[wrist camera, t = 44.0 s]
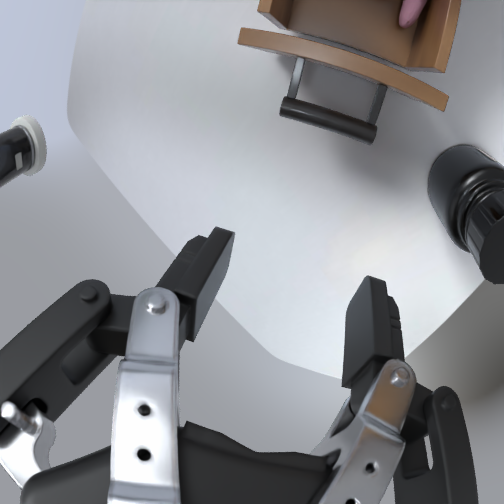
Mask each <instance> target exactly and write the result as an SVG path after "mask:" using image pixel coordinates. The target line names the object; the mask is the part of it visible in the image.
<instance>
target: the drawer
mask: <svg viewBox="0 0 504 504" xmlns="http://www.w3.org/2000/svg"><path fill="white" fill-rule="evenodd" d="M402 4H403V0H260V2H259V6H258V10H257V11H258V12H259V13H260V14H262V15H263V16H264V17H266V18H267V19H268V20H269V21H271V22H272V23H273V24H275V25H276V26H277V27H278V28H279V29H284V30H289V31H294V32H298V33H303V34H307V35H311V36H315V37H319V38H322V39H326V40H330V41H333V42H336V43H340V44H343V45H346V46H349V47H352V48H355V49H358V50H361V51H364V52H366V53H369V54H372V55H374V56H377V57H380V58H382V59H385V60H387V61H390V62H392V63H394V64H397V65H399V66H401V67H403V68H406V69H408V70H410V71H424V72H438V73H445V70H446V66H447V63H448V59H449V55H450V52H451V48H452V44H453V39H454V35H455V31H456V26H457V21H458V17H459V11H460V6H461V0H427V2H426V4H425V6H424V8H423V9H422V11H421V13H420V15H419V17H418V19H417V20H416V21H415V22H414V23H413V24H412V25H411V26H410V27H408V28H402V27H401V26H400V25H399V16H400V11H401V7H402ZM238 44H239V45H244V46H248V47H252V48H255V49H259V50H263V51H266V52H271V53H276V54H281V55H285V56H290V57H294V58H296V62H295V66H294V70H293V74H292V78H291V82H290V86H289V90H288V94H287V96H285V97H284V98H283V101H282V104H281V107H280V113H279V115H280V116H282V117H285V118H289V119H293V120H296V121H300V122H303V123H306V124H310V125H313V126H316V127H319V128H322V129H326V130H329V131H332V132H335V133H338V134H341V135H343V136H346V137H349V138H352V139H355V140H357V141H360V142H363V143H365V144H368V145H371V144H372V143H373V141H374V139H375V136H376V132H377V126H376V125H375V124H376V121H377V118H378V115H379V112H380V109H381V106H382V103H383V100H384V97H385V93H386V90H387V88H389V89H391V90H393V91H396V92H398V93H400V94H403V95H405V96H407V97H409V98H412V99H414V100H417V101H419V102H422V103H424V104H427V105H429V106H431V107H434V108H436V109H438V110H440V111H443V112H444V110H445V107H446V104H447V101H448V98H449V96H448V95H447V94H445V93H443V92H441V91H439V90H437V89H436V88H434V87H432V86H430V85H428V84H426V83H424V82H422V81H420V80H418V79H416V78H414V77H411V76H409V75H407V74H405V73H403V72H401V71H398V70H396V69H394V68H391V67H389V66H386V65H384V64H381V63H379V62H376V61H374V60H371V59H368V58H366V57H363V56H360V55H357V54H354V53H351V52H348V51H345V50H342V49H339V48H336V47H332V46H329V45H326V44H322V43H318V42H315V41H311V40H307V39H303V38H298V37H294V36H289V35H284V34H279V33H274V32H269V31H263V30H257V29H250V28H241V30H240V34H239V39H238ZM305 60H306V61H310V62H313V63H317V64H320V65H324V66H327V67H331V68H334V69H337V70H340V71H343V72H346V73H349V74H352V75H355V76H358V77H361V78H363V79H366V80H369V81H371V82H374V83H376V84H378V87H377V90H376V94H375V97H374V100H373V103H372V106H371V109H370V112H369V116H368V119H367V122H365V121H363V120H360V119H357V118H355V117H352V116H349V115H346V114H343V113H340V112H337V111H334V110H331V109H328V108H325V107H322V106H319V105H315V104H312V103H309V102H305V101H302V100H298V99H295V98H296V95H297V92H298V88H299V84H300V80H301V76H302V72H303V68H304V64H305Z"/></svg>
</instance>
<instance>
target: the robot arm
mask: <svg viewBox="0 0 504 504" xmlns="http://www.w3.org/2000/svg"><path fill="white" fill-rule="evenodd" d="M34 162H35V146H34V142H33V139H32V136H31V134H30V132H29V131H28V129H27V128H26V127H25V126H23V125H17V126H14V127H13V128H11V129H9V130H7V131H5V132H3V133H1V134H0V188H1V187H2V186H4V185H5V184H7V183H8V182H10V181H11V180H13V179H14V178H16V177H18V176H19V175H21V174H22V173H24V172H26V171H28V170H30V169H31V168H32V167H33V165H34ZM234 237H235V232H232V231H229V230H226V229H222V228H219V227H215V228H214V229H213V231H212V232H211V234H210V235H209V237H208V238H206V237H203V236H200V235H198V236H196V237H195V238H193V239H191V240H189V241H188V242H187V243H186V245H185V246H184V247H183V249H182V251H181V252H180V253H179V254H178V256H177V257H176V259H175V260H174V261H173V263H172V264H171V265H170V267H169V268H168V270H167V271H166V272H165V274H164V275H163V277H162V278H161V279H160V281H159V282H158V284H157V285H156V286H155V287H152V288H148V289H145V290H143V291H142V292H140V293H139V294H138V295H137V296H123V295H115V294H110V291H109V288H108V287H107V285H106V284H105V283H103V282H101V281H99V280H93V279H92V280H85V281H82V282H80V283H78V284H77V285H76V286H74V287H73V288H72V289H70V290H69V291H68V292H67V293H65V294H64V295H63V296H62V297H60V298H59V299H58V300H57V301H56V302H54V303H53V304H52V305H51V306H50V307H48V308H47V309H46V310H45V311H44V312H42V313H41V314H40V315H39V316H38V317H37V318H35V320H33V321H32V322H31V323H30V324H29V325H27V326H26V327H25V328H24V329H23V330H22V331H21V332H20V333H18V334H17V335H16V336H15V337H14V338H13V339H12V340H11V341H10V342H9V343H8V344H6V345H5V346H4V347H3V348H2V349H1V350H0V464H1V466H2V467H3V468H4V469H5V471H6V472H7V473H8V474H9V476H10V477H11V478H12V479H13V481H14V482H15V483H16V484H17V486H18V487H19V488H20V489H21V490H22V491H21V496H20V504H379V503H380V501H381V499H382V497H383V495H384V493H385V491H386V489H387V487H388V485H389V483H390V481H391V479H392V477H393V481H394V491H395V504H478V493H477V484H476V477H475V470H474V464H473V457H472V452H471V447H470V442H469V437H468V432H467V428H466V424H465V420H464V416H463V412H462V408H461V404H460V401H459V398H458V396H457V394H456V393H455V392H454V391H453V390H452V389H451V388H449V387H447V386H442V387H439V388H438V389H436V390H435V391H434V392H433V391H431V390H429V389H427V388H426V387H424V386H422V385H420V384H418V383H417V382H416V376H415V373H414V371H413V369H412V368H411V367H410V366H409V365H408V364H407V363H406V362H405V359H404V348H403V339H402V331H401V323H400V321H399V320H400V316H399V309H398V306H397V305H396V303H395V301H394V299H393V297H391V296H388V294H387V287H386V282H385V281H383V280H380V279H377V278H374V277H371V276H366V277H365V278H364V280H363V281H362V283H361V285H360V286H359V288H358V290H357V291H356V293H355V295H354V296H353V298H352V300H351V301H350V303H349V305H348V308H347V312H346V322H345V345H344V361H343V375H342V387H345V388H349V389H351V396H349V397H348V398H347V399H346V401H345V402H344V404H343V406H342V408H341V410H340V411H339V413H338V415H337V417H336V418H335V420H334V422H333V424H332V425H331V427H330V429H329V430H328V432H327V434H326V435H325V437H324V438H323V440H322V441H321V442H320V443H319V444H318V445H317V446H316V448H314V450H313V451H312V452H311V453H310V454H304V453H298V452H270V453H268V452H264V453H263V452H255V451H253V450H251V449H249V448H247V447H245V446H243V445H242V444H240V443H238V442H236V441H235V440H233V439H231V438H229V437H228V436H226V435H224V434H222V433H220V432H217V431H214V430H211V429H208V428H205V427H202V426H199V425H197V424H194V423H191V422H189V421H186V424H185V426H184V427H180V408H179V359H180V355H179V354H180V350H181V348H182V346H183V344H184V342H185V340H189V341H192V342H194V340H195V338H196V336H197V334H198V332H199V329H200V328H201V325H202V323H203V321H204V319H205V317H206V315H207V313H208V311H209V309H210V307H211V305H212V302H213V301H214V298H215V296H216V294H217V292H218V290H219V288H220V286H221V284H222V282H223V280H224V278H225V275H226V273H227V270H228V267H229V262H230V257H231V252H232V247H233V242H234ZM117 355H119V356H125V358H124V359H123V360H121V361H120V363H119V367H118V373H117V381H116V391H115V399H114V411H113V424H112V440H111V445H110V446H108V447H106V448H103V449H101V450H98V451H96V452H94V453H91V454H88V455H86V456H84V457H81V458H78V459H75V460H73V461H70V462H67V463H65V464H62V465H59V466H56V467H53V468H51V467H50V464H49V451H50V448H51V447H52V445H53V444H54V441H55V438H56V430H55V426H54V424H53V423H54V421H56V419H57V418H58V417H59V416H60V415H61V414H62V413H63V412H64V411H65V410H66V409H67V408H68V406H69V405H70V404H71V403H72V402H73V401H74V400H75V399H76V398H77V397H78V396H79V395H80V394H81V393H82V392H83V391H84V390H85V388H87V387H88V385H89V384H90V383H91V382H92V381H93V380H94V379H95V378H96V377H97V376H98V375H99V374H100V373H101V372H102V371H103V370H104V369H105V368H106V366H108V365H109V364H110V363H111V362H112V360H113V359H114V358H115V357H116V356H117ZM428 435H429V439H430V444H431V451H432V457H433V467H432V469H431V470H430V469H429V466H428V459H427V452H426V446H425V441H424V437H426V436H428Z"/></svg>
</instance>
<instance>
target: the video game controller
mask: <svg viewBox="0 0 504 504" xmlns="http://www.w3.org/2000/svg"><path fill="white" fill-rule="evenodd" d="M426 2H427V0H403V4H402V7H401V11H400V16H399V25H400V26H401V27H402V28H408V27H410V26H411V25H412V24H413V23H414V22H415V21H416V20H417V19H418V17H419V15H420V13H421V11H422V9H423V8H424V6H425V4H426Z"/></svg>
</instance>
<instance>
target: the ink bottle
mask: <svg viewBox="0 0 504 504" xmlns="http://www.w3.org/2000/svg"><path fill="white" fill-rule="evenodd" d="M428 191H429V197H430V201H431V204H432V206H433V208H434V210H435V211H436V213H437V215H438V217H439V218H440V220H441V222H442V224H443V225H444V227H445V229H446V231H447V233H448V235H449V236H450V238H451V240H452V241H453V242H454V243H455V245H456V246H458V247H459V248H460V249H462V250H463V251H466V252H468V253H471V254H472V255H473V257H474V259H475V261H476V263H477V265H478V267H479V269H480V270H481V272H482V274H483V276H484V278H485V279H486V280H488V281H490V282H492V283H493V284H504V166H502V165H501V164H500V163H499V162H497V161H496V160H495V159H493V158H492V157H491V156H489V155H488V154H486V153H485V152H484V151H482V150H480V149H478V148H476V147H473V146H467V145H463V146H457V147H454V148H451V149H449V150H447V151H446V152H444V153H443V154H442V155H441V156H440V157H439V158H438V159H437V160H436V162H435V163H434V165H433V167H432V169H431V172H430V176H429V183H428Z"/></svg>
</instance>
